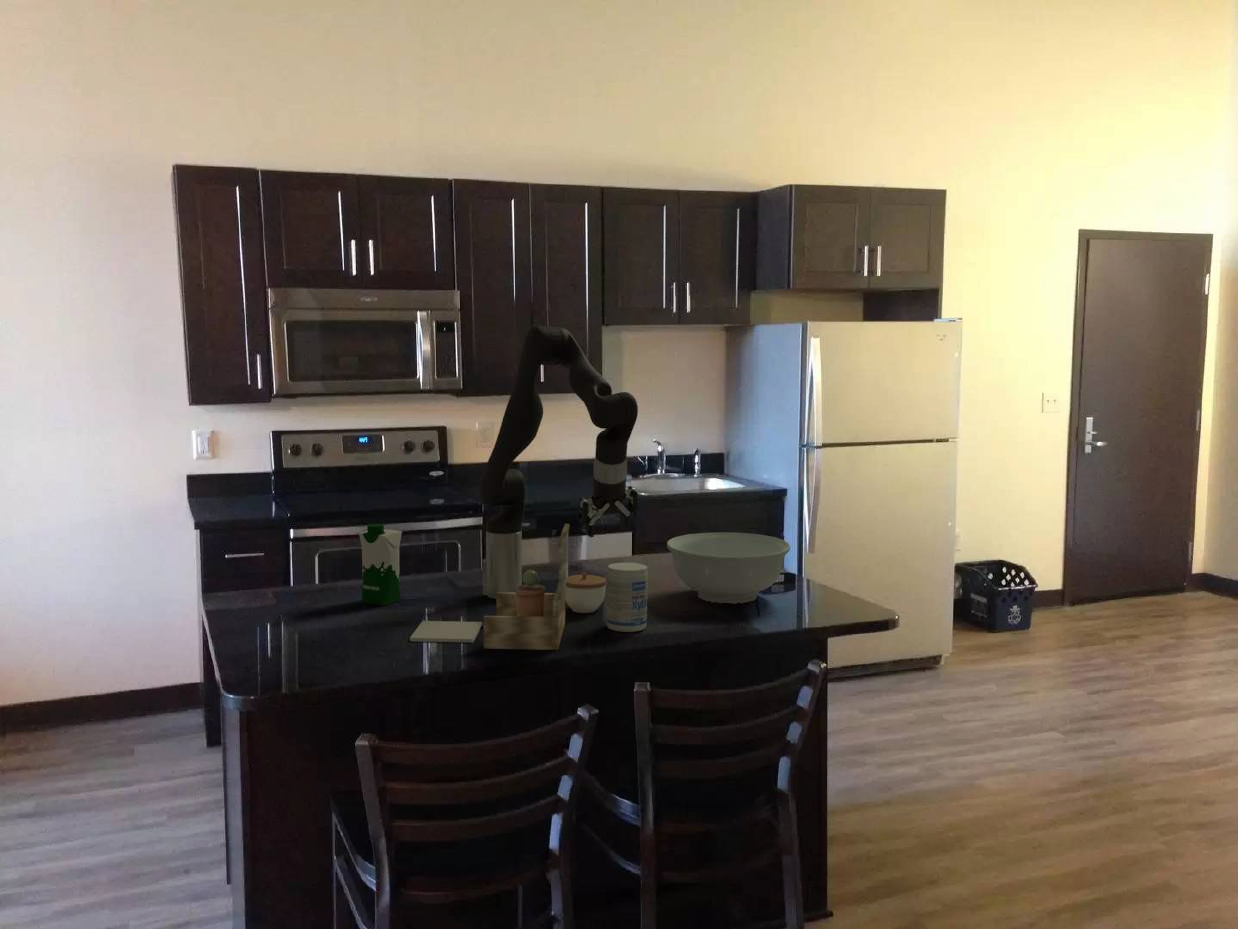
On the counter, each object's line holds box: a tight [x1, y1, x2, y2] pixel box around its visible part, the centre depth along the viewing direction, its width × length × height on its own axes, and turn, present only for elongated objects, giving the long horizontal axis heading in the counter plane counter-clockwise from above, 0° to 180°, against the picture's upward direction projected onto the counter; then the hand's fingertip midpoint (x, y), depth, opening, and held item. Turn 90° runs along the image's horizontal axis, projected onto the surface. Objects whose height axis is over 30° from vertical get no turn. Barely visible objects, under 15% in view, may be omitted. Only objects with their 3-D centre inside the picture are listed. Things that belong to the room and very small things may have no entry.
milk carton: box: [358, 523, 403, 607], centre depth 268 cm, size 9×9×20 cm
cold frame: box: [483, 523, 570, 651], centre depth 240 cm, size 17×22×24 cm
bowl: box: [666, 532, 791, 605], centre depth 278 cm, size 32×32×15 cm
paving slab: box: [409, 620, 483, 643], centre depth 241 cm, size 14×14×1 cm
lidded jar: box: [565, 572, 607, 614], centre depth 263 cm, size 11×11×9 cm
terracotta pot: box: [516, 569, 546, 617], centre depth 240 cm, size 7×7×15 cm
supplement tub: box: [605, 562, 649, 633], centre depth 248 cm, size 10×10×15 cm
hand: (606, 531), depth 248 cm, fingers open, 8 cm apart
